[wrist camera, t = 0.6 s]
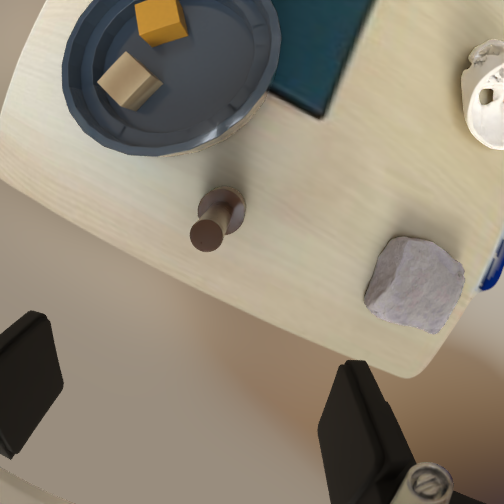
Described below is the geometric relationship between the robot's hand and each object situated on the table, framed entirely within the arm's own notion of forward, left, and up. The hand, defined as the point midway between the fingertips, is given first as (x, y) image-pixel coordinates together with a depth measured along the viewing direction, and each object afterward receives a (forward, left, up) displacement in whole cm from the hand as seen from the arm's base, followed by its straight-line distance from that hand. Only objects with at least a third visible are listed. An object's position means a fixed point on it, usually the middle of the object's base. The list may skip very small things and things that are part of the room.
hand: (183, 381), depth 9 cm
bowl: (-16, -8, -25) cm, 31 cm away
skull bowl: (-21, +28, -25) cm, 43 cm away
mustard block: (-20, -10, -24) cm, 33 cm away
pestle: (-1, -1, -25) cm, 25 cm away
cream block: (-13, -12, -24) cm, 30 cm away
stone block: (+4, +22, -25) cm, 33 cm away
